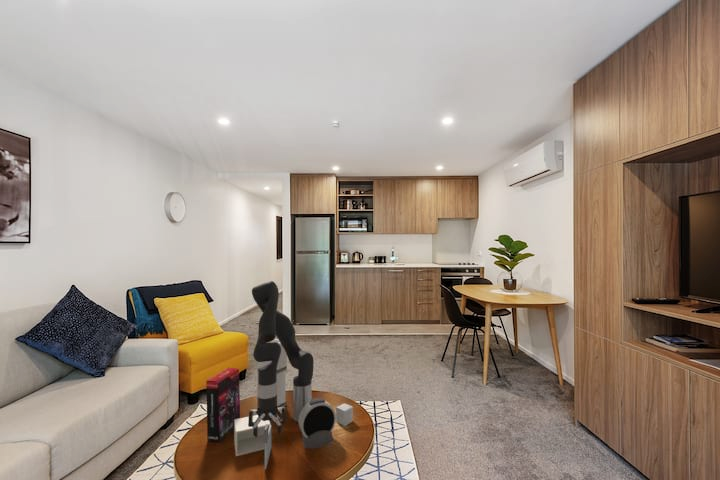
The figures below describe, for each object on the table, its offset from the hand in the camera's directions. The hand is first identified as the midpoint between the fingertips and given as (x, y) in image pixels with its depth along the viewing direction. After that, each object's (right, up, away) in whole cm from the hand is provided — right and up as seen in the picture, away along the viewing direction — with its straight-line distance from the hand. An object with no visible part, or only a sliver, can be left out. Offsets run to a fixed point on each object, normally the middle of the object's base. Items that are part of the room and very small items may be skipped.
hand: (267, 435), depth 130 cm
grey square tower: (-11, -14, +49) cm, 53 cm away
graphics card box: (-27, -13, +24) cm, 38 cm away
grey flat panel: (-1, -12, +4) cm, 12 cm away
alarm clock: (+18, -13, +16) cm, 27 cm away
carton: (-11, -12, +14) cm, 21 cm away
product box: (+29, -13, +33) cm, 46 cm away
